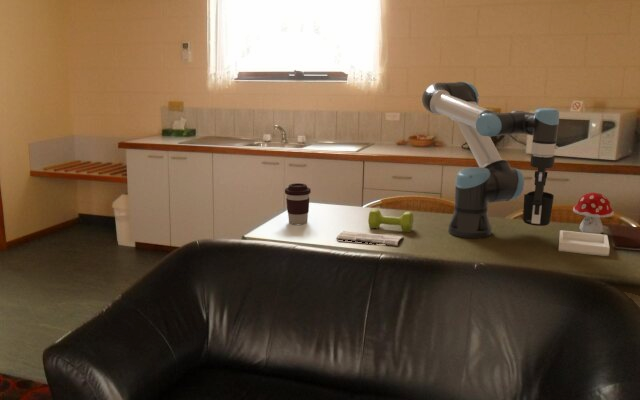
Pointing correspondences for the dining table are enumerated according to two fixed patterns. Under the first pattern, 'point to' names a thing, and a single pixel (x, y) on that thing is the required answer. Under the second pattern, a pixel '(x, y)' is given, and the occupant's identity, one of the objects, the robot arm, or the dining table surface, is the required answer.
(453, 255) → the dining table surface
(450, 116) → the robot arm
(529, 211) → the pen holder
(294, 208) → the coffee cup
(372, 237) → the newspaper
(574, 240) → the tray
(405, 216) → the dumbbell
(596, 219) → the decorative mushroom
